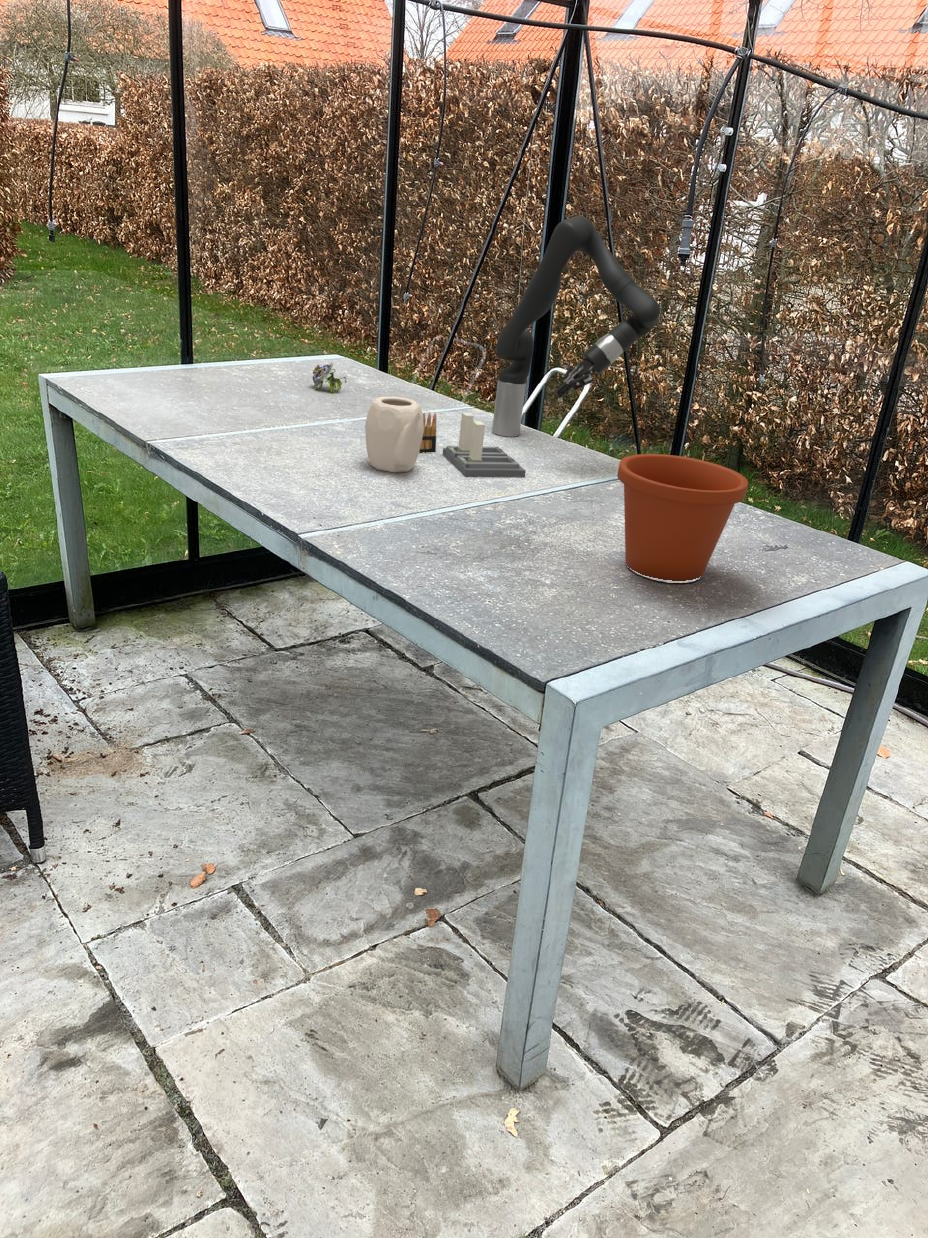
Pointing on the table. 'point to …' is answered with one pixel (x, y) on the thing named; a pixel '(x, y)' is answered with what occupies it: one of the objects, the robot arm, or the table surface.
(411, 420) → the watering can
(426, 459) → the table surface
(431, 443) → the ammunition clip
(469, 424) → the tab
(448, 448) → the switch board
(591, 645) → the table surface
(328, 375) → the passion flower
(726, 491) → the flower pot
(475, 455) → the tab
